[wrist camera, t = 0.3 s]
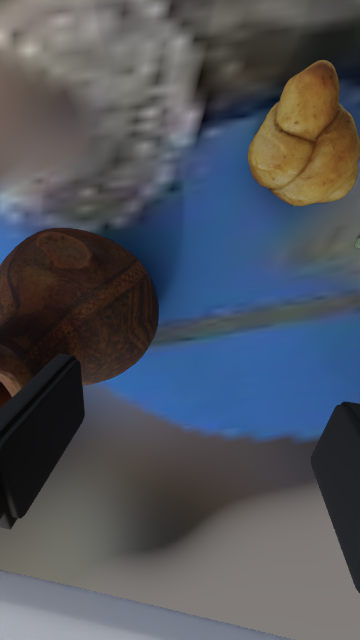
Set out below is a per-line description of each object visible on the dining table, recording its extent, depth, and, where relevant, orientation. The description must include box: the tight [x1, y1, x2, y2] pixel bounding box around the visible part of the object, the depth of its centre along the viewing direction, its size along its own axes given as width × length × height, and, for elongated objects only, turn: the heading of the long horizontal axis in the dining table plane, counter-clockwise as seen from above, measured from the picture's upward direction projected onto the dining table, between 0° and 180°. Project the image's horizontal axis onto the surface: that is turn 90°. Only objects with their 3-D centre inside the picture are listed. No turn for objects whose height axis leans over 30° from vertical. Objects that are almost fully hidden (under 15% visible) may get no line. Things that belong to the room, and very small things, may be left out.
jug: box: [0, 228, 159, 408], centre depth 28 cm, size 22×22×30 cm
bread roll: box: [247, 60, 360, 206], centre depth 27 cm, size 13×10×8 cm
